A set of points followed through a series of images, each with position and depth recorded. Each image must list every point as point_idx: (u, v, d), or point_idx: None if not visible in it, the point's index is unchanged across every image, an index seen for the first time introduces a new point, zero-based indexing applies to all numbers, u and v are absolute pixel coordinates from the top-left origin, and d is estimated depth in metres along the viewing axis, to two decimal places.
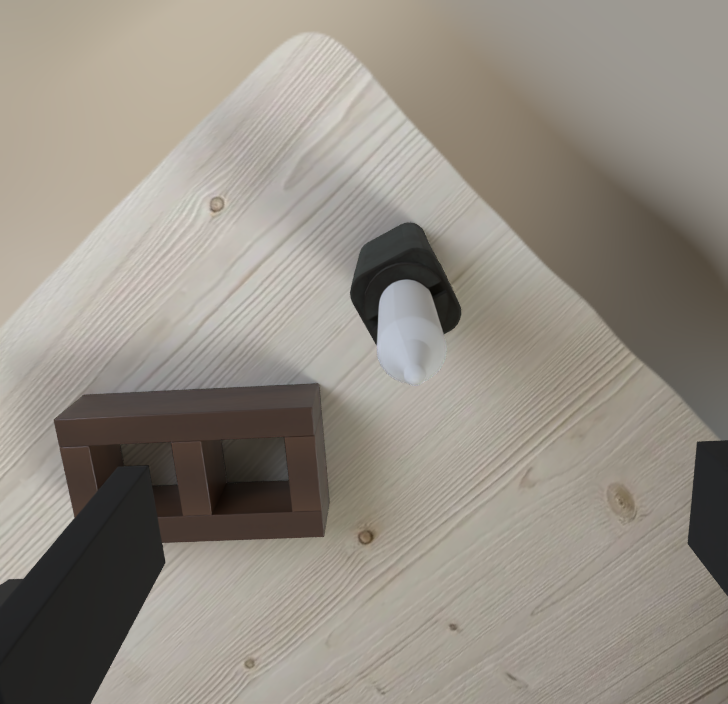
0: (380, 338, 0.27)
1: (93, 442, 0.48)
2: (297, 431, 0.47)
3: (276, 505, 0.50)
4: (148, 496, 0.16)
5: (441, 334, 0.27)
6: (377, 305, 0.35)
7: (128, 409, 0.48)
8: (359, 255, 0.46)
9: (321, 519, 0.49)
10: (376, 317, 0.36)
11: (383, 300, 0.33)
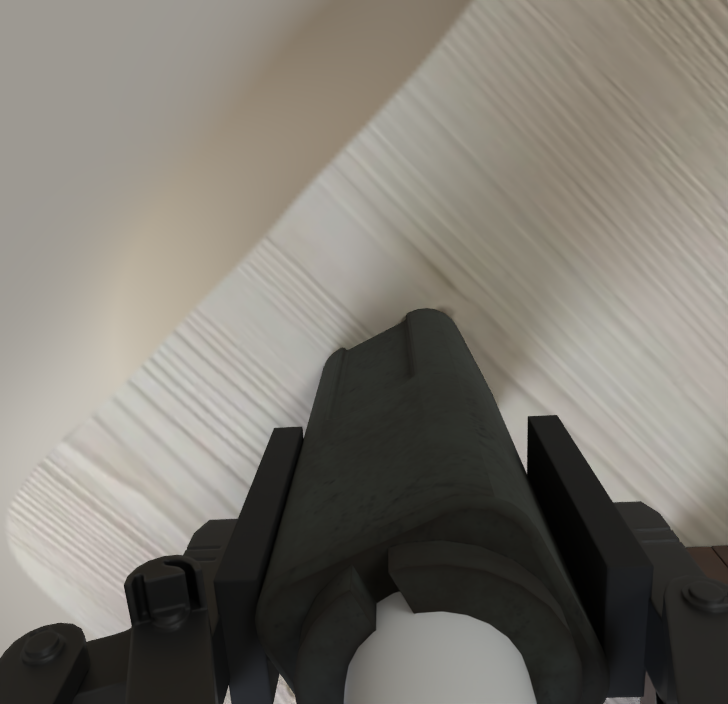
0: None
1: None
2: None
3: None
4: None
5: None
6: None
7: None
8: None
9: None
10: None
11: None
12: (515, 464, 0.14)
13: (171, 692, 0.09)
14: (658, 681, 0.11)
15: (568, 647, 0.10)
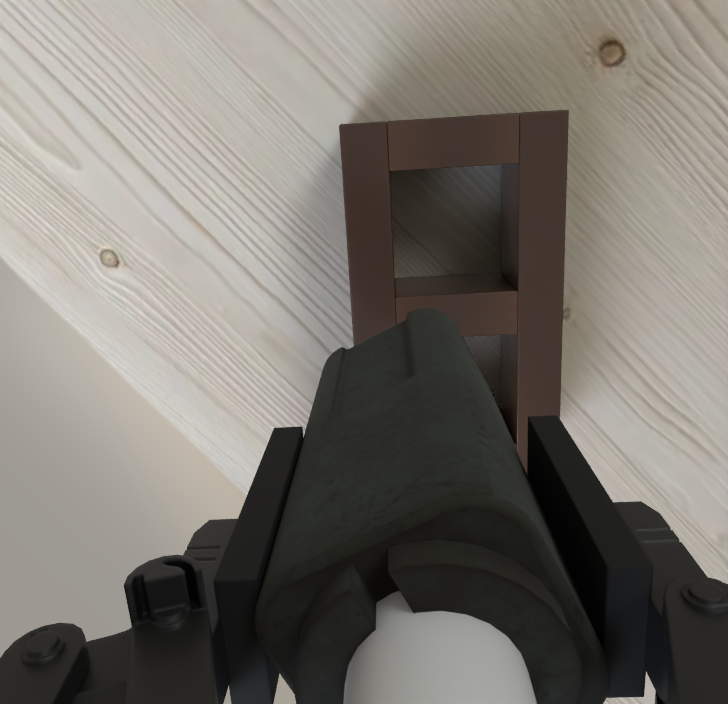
0: None
1: None
2: (379, 149, 0.31)
3: (514, 191, 0.32)
4: None
5: None
6: None
7: None
8: None
9: (535, 113, 0.30)
10: None
11: None
12: (515, 463, 0.14)
13: (171, 692, 0.09)
14: (658, 681, 0.11)
15: (568, 647, 0.10)
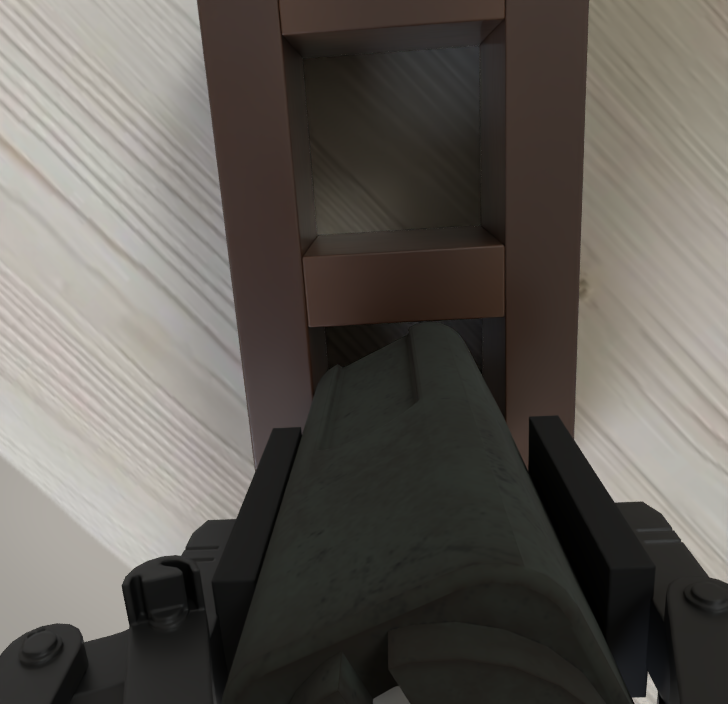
0: None
1: None
2: None
3: (498, 77, 0.19)
4: None
5: None
6: None
7: None
8: None
9: None
10: None
11: None
12: (540, 509, 0.12)
13: (169, 693, 0.09)
14: (660, 681, 0.11)
15: None
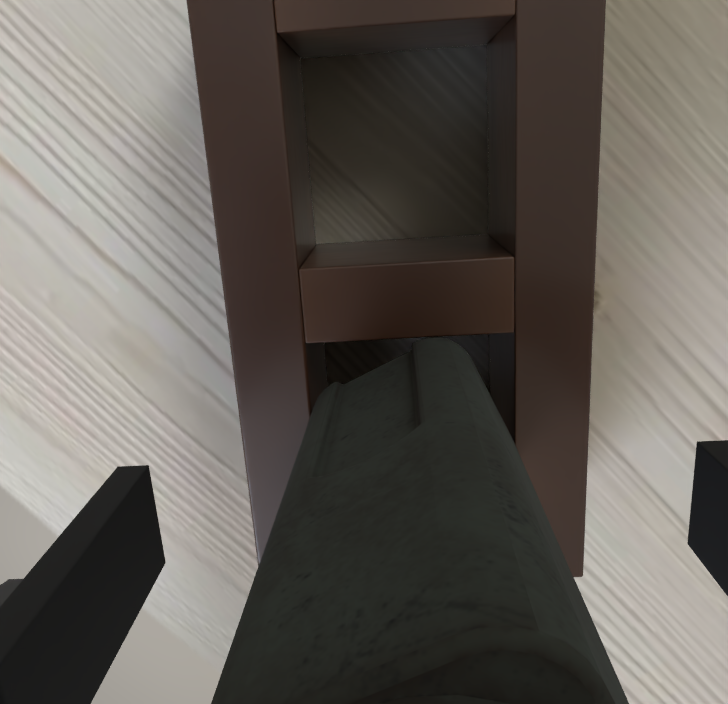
0: None
1: None
2: None
3: (508, 78, 0.18)
4: (148, 496, 0.16)
5: None
6: None
7: None
8: None
9: None
10: None
11: None
12: (554, 550, 0.10)
13: None
14: None
15: None
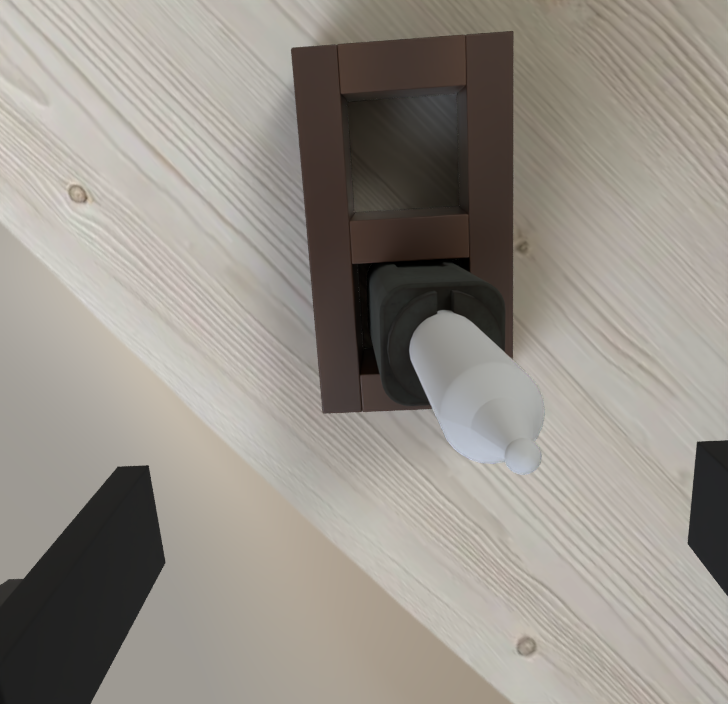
0: (453, 447, 0.18)
1: (354, 367, 0.36)
2: (330, 72, 0.31)
3: (464, 116, 0.33)
4: (148, 496, 0.16)
5: (491, 365, 0.18)
6: None
7: None
8: None
9: (481, 35, 0.31)
10: None
11: None
12: None
13: None
14: None
15: None
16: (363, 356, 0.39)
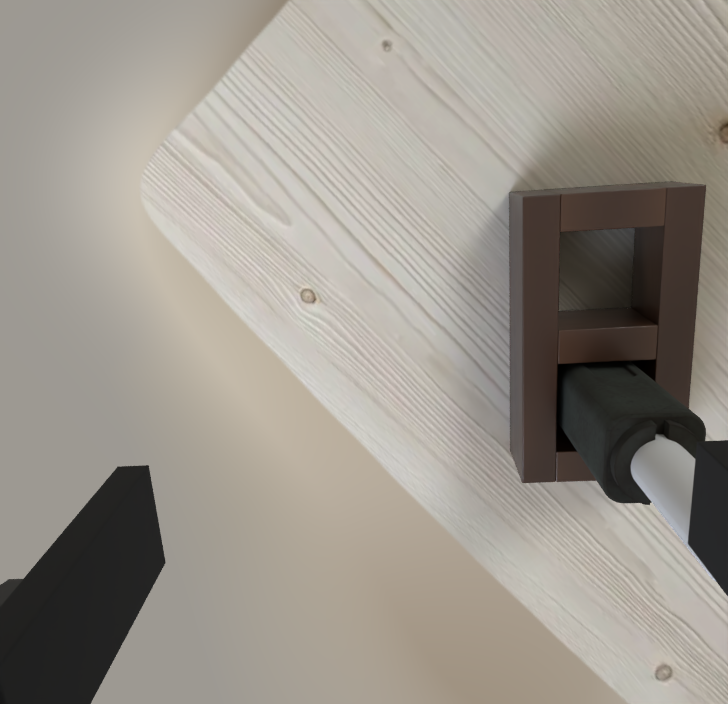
0: (711, 577, 0.26)
1: (552, 446, 0.43)
2: (553, 215, 0.39)
3: (656, 246, 0.40)
4: (148, 496, 0.16)
5: None
6: (642, 489, 0.34)
7: (519, 406, 0.44)
8: None
9: (679, 188, 0.38)
10: None
11: (649, 498, 0.32)
12: None
13: None
14: None
15: None
16: None
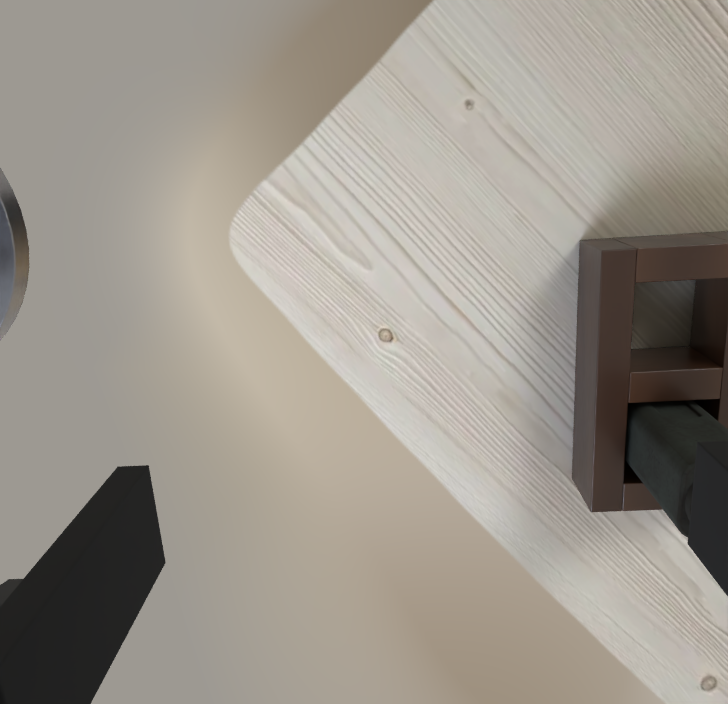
0: None
1: (620, 478, 0.46)
2: (629, 267, 0.42)
3: (721, 295, 0.43)
4: (148, 496, 0.16)
5: None
6: None
7: (588, 440, 0.47)
8: None
9: None
10: None
11: None
12: None
13: None
14: None
15: None
16: None
